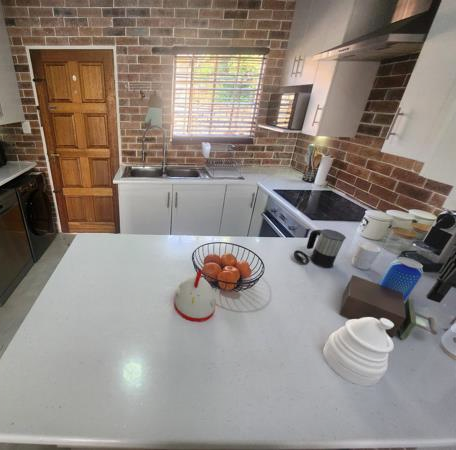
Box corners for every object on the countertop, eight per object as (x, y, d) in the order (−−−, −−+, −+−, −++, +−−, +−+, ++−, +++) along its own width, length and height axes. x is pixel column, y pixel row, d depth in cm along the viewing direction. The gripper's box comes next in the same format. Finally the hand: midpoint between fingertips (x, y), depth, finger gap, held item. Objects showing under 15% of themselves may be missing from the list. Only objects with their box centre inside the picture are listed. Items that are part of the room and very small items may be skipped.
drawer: (425, 323, 81) (437, 308, 78) (431, 351, 72) (444, 335, 69) (356, 296, 92) (364, 282, 89) (353, 317, 83) (361, 302, 80)
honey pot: (390, 379, 65) (427, 331, 57) (354, 392, 62) (388, 344, 53) (345, 338, 76) (370, 293, 68) (312, 348, 73) (334, 302, 64)
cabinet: (391, 311, 87) (403, 292, 83) (392, 338, 77) (406, 318, 73) (343, 292, 95) (352, 274, 91) (338, 314, 85) (348, 295, 81)
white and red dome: (169, 314, 82) (172, 278, 75) (180, 288, 94) (183, 255, 87) (211, 327, 78) (218, 290, 71) (217, 298, 90) (223, 264, 83)
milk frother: (337, 264, 112) (349, 235, 105) (320, 275, 104) (333, 245, 97) (305, 249, 122) (315, 223, 116) (288, 259, 114) (297, 231, 107)
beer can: (374, 296, 93) (394, 262, 86) (375, 286, 99) (394, 252, 92) (403, 308, 88) (427, 272, 81) (403, 296, 94) (426, 262, 87)
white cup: (349, 258, 117) (357, 240, 112) (370, 264, 113) (379, 246, 108) (349, 266, 111) (358, 247, 106) (371, 273, 107) (381, 253, 102)
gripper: (457, 217, 69) (413, 283, 80) (468, 233, 60) (417, 305, 71) (498, 225, 65) (446, 294, 76) (517, 244, 56) (455, 319, 67)
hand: (432, 299), depth 73 cm, fingers closed
